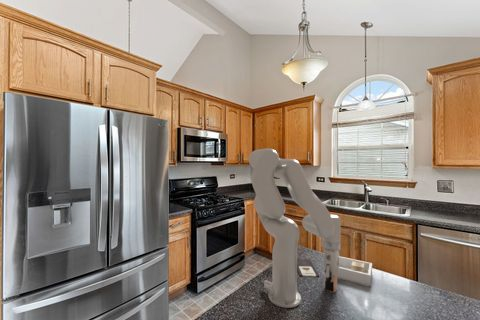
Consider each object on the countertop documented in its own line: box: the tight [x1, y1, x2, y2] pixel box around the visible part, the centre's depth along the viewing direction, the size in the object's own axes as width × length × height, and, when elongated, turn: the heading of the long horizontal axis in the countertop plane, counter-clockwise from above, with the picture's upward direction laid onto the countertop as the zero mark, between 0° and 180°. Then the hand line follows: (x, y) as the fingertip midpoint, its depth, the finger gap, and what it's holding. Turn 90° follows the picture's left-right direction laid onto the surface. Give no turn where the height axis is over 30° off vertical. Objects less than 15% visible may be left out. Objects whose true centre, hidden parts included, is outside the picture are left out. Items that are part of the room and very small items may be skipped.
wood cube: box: [351, 261, 364, 273], centre depth 106 cm, size 5×5×5 cm
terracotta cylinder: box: [324, 272, 338, 293], centre depth 96 cm, size 5×5×7 cm
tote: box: [337, 255, 373, 288], centre depth 108 cm, size 18×14×5 cm
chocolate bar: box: [297, 258, 320, 278], centre depth 115 cm, size 9×1×18 cm
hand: (330, 286), depth 96 cm, fingers open, 5 cm apart
